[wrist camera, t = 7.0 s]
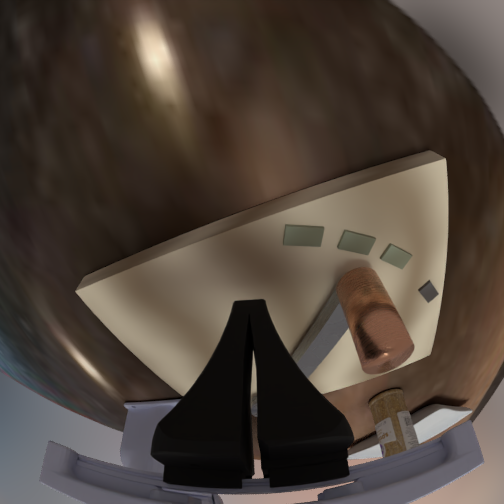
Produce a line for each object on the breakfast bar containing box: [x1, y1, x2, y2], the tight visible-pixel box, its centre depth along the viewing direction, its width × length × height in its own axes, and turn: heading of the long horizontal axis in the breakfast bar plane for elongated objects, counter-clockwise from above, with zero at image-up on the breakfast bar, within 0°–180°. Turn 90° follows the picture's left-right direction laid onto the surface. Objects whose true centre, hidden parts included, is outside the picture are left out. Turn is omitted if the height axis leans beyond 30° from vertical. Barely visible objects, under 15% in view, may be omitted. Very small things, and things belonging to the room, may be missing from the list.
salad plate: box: [347, 404, 472, 459], centre depth 37 cm, size 21×21×3 cm
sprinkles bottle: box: [369, 389, 420, 458], centre depth 22 cm, size 5×5×14 cm
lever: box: [251, 267, 415, 417], centre depth 16 cm, size 3×17×5 cm, turn 163°
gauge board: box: [75, 150, 448, 399], centre depth 18 cm, size 22×18×2 cm
